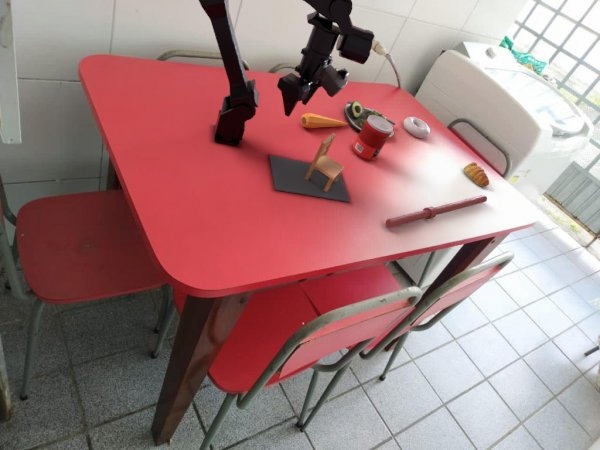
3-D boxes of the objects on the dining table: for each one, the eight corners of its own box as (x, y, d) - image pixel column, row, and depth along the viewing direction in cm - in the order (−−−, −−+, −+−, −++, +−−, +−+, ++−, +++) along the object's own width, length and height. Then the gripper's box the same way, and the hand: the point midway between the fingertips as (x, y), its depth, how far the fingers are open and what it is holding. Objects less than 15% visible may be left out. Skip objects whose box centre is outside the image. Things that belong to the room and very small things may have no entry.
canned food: (374, 165, 121) (393, 135, 113) (350, 154, 120) (367, 123, 113) (376, 152, 126) (393, 122, 119) (352, 141, 126) (369, 111, 118)
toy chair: (304, 178, 104) (322, 141, 96) (315, 167, 108) (333, 132, 101) (326, 192, 103) (345, 156, 95) (336, 181, 108) (355, 146, 100)
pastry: (490, 187, 138) (497, 178, 135) (478, 189, 134) (486, 180, 131) (471, 168, 142) (478, 160, 140) (459, 170, 138) (466, 161, 136)
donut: (404, 119, 151) (399, 129, 143) (408, 111, 148) (404, 121, 141) (427, 132, 150) (424, 143, 142) (433, 125, 148) (429, 135, 140)
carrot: (301, 130, 120) (310, 122, 117) (296, 117, 121) (305, 109, 118) (347, 134, 133) (357, 127, 129) (343, 122, 134) (352, 114, 130)
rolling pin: (389, 232, 101) (395, 224, 99) (381, 223, 102) (387, 214, 100) (484, 205, 127) (490, 198, 125) (477, 198, 129) (483, 191, 127)
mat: (274, 190, 97) (275, 189, 96) (269, 155, 105) (269, 155, 105) (349, 202, 104) (349, 201, 103) (338, 169, 112) (338, 168, 112)
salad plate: (385, 114, 147) (391, 103, 144) (402, 144, 136) (410, 133, 133) (337, 103, 140) (343, 91, 137) (352, 134, 128) (359, 122, 125)
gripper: (334, 77, 81) (306, 140, 91) (364, 57, 95) (337, 114, 105) (287, 50, 82) (266, 115, 93) (324, 34, 96) (301, 93, 107)
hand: (295, 109), depth 99 cm, fingers open, 9 cm apart
